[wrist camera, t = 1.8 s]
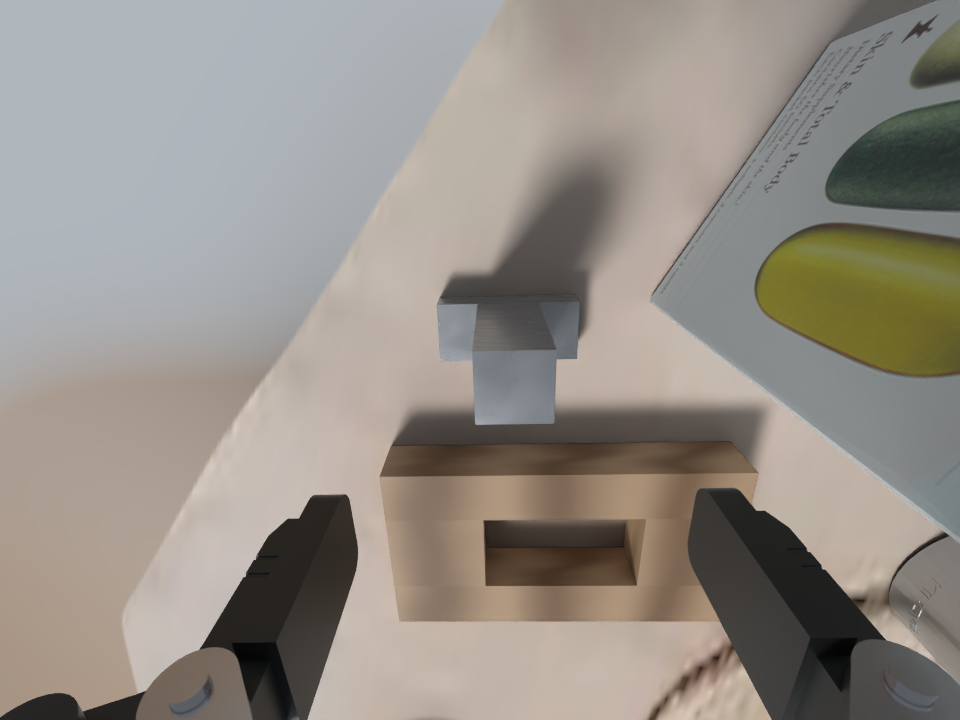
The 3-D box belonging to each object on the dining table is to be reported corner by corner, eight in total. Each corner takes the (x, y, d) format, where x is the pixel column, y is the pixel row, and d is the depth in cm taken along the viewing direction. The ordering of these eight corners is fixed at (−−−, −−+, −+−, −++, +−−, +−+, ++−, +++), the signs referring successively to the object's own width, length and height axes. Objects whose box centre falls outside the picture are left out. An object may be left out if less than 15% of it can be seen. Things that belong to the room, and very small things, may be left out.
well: (730, 441, 26) (758, 473, 24) (701, 580, 30) (722, 621, 28) (391, 445, 27) (379, 476, 24) (407, 581, 31) (399, 621, 28)
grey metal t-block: (574, 294, 23) (613, 348, 16) (571, 348, 24) (607, 422, 17) (440, 297, 24) (416, 352, 16) (443, 351, 25) (423, 425, 17)
